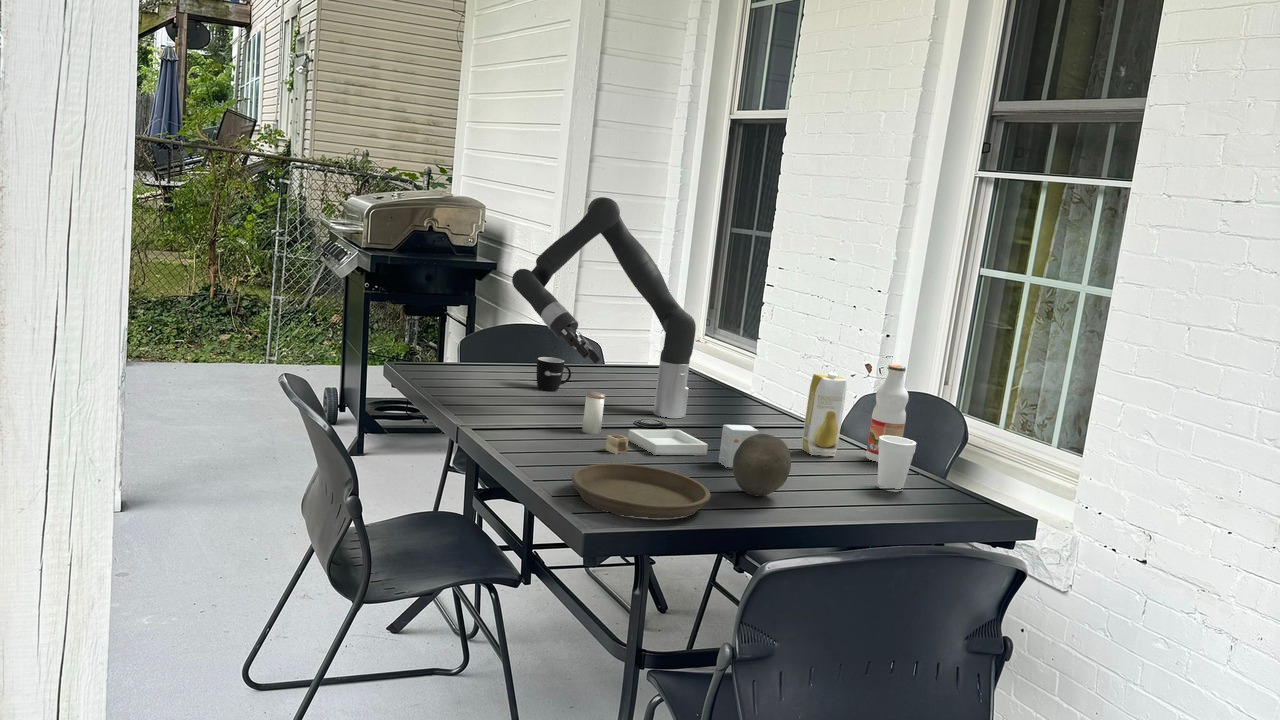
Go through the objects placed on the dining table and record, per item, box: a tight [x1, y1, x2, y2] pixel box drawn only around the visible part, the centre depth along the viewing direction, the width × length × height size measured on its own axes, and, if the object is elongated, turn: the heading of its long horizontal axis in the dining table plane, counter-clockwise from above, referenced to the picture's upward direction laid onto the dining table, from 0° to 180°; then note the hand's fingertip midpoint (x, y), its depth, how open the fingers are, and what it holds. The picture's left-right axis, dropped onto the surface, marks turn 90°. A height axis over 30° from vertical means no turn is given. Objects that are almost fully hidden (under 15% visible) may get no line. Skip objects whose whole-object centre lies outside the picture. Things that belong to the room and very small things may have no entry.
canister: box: [581, 391, 606, 435], centre depth 286 cm, size 5×5×11 cm
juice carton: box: [801, 372, 847, 457], centre depth 292 cm, size 9×8×24 cm
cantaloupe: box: [732, 433, 792, 497], centre depth 241 cm, size 14×14×15 cm
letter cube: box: [605, 434, 629, 455], centre depth 268 cm, size 4×4×4 cm
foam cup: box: [877, 436, 917, 489], centre depth 264 cm, size 10×9×13 cm
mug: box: [536, 356, 572, 392], centre depth 339 cm, size 12×9×10 cm
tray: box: [627, 429, 709, 456], centre depth 279 cm, size 16×16×3 cm
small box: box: [718, 424, 760, 468], centre depth 268 cm, size 8×6×10 cm
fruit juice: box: [865, 364, 909, 463], centre depth 293 cm, size 9×9×28 cm
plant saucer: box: [571, 462, 711, 518], centre depth 227 cm, size 31×31×5 cm
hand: (592, 358), depth 295 cm, fingers open, 8 cm apart
